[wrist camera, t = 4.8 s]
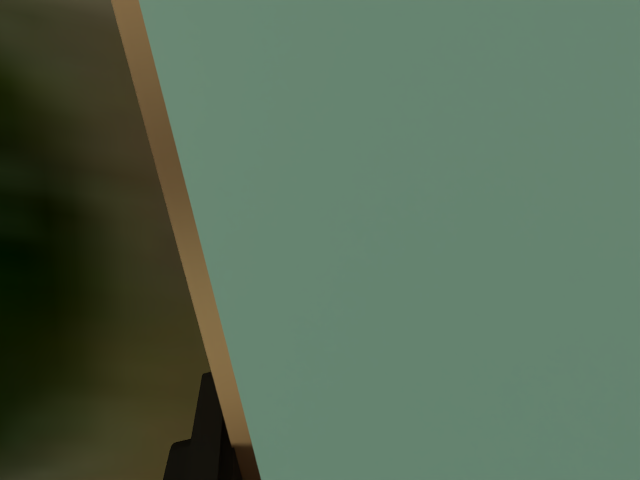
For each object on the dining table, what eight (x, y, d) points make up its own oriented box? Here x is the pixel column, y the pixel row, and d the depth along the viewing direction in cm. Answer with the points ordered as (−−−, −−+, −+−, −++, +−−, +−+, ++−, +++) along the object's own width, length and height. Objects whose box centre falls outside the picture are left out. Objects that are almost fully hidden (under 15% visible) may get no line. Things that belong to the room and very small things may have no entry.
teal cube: (201, 9, 5) (19, -460, 1) (533, -38, 6) (1318, -474, 2) (270, 331, 7) (321, 712, 2) (540, 269, 7) (987, 489, 3)
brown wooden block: (118, -134, 8) (21, -333, 4) (462, -168, 8) (605, -359, 5) (319, 683, 14) (343, 860, 11) (506, 621, 15) (584, 768, 11)
